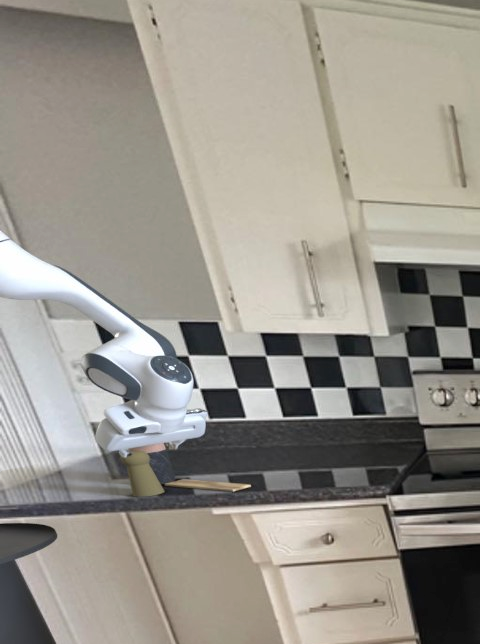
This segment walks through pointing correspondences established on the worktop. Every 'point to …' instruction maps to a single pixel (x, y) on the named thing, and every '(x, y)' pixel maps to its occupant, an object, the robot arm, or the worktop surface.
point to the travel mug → (158, 462)
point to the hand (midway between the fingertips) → (148, 451)
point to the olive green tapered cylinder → (141, 475)
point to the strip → (208, 485)
